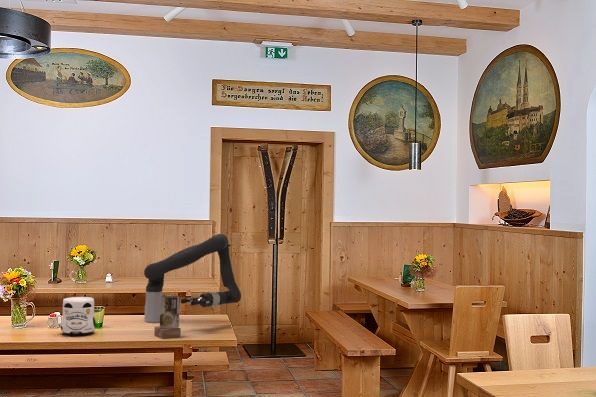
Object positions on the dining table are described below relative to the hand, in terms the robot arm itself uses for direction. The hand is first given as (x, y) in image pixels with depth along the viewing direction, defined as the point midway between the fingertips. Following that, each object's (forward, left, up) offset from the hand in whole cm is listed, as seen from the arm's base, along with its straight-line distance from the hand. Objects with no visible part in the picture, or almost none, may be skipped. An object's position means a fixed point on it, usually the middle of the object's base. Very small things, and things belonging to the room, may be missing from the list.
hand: (186, 302), depth 376 cm
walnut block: (+1, -13, -16) cm, 21 cm away
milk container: (-34, -43, -16) cm, 57 cm away
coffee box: (+2, -12, -12) cm, 17 cm away
